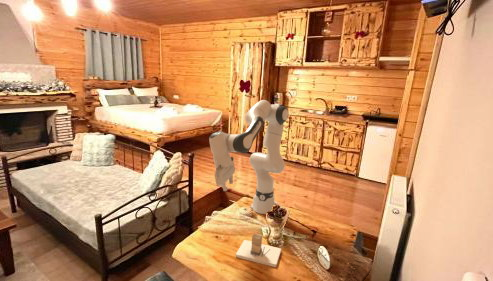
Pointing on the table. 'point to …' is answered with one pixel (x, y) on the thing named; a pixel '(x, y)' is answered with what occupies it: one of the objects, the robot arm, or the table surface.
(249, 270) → the table surface
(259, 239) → the block
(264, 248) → the board
